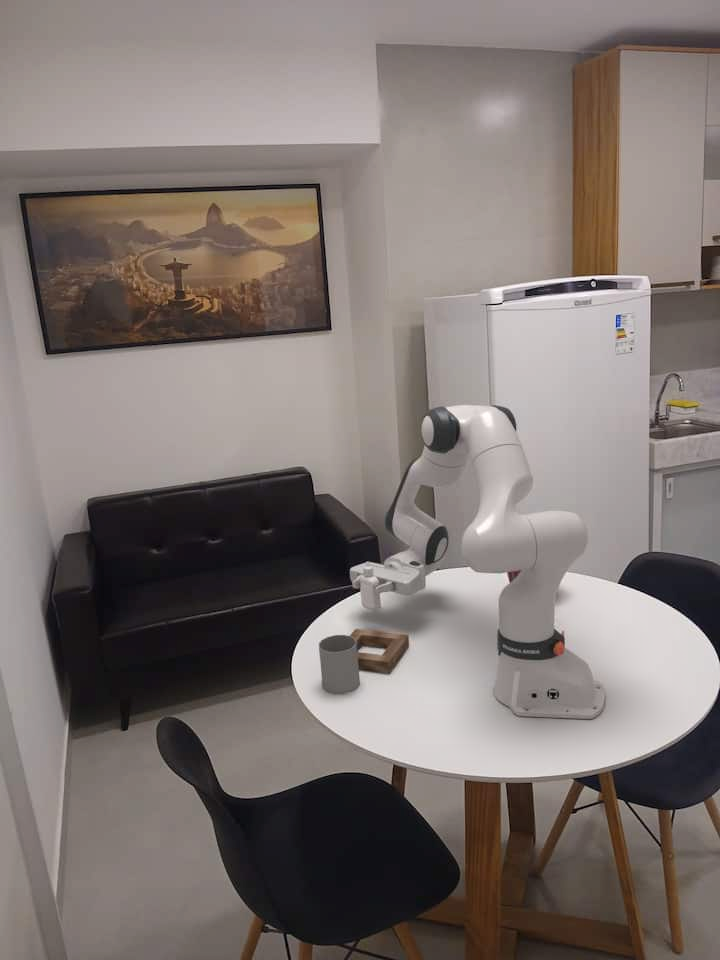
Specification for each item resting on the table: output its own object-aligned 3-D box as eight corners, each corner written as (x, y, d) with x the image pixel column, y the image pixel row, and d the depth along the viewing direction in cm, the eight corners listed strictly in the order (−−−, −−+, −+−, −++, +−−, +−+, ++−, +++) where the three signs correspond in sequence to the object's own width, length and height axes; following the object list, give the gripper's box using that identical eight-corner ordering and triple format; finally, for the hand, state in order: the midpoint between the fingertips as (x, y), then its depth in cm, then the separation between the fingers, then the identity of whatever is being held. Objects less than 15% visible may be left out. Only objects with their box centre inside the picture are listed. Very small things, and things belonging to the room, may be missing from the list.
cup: (361, 674, 166) (358, 634, 163) (358, 693, 158) (354, 651, 155) (325, 675, 167) (321, 635, 164) (319, 694, 159) (315, 652, 156)
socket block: (409, 646, 178) (408, 634, 177) (389, 674, 165) (388, 662, 164) (356, 639, 183) (355, 628, 182) (333, 666, 170) (332, 654, 170)
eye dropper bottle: (364, 612, 182) (361, 566, 180) (361, 603, 188) (357, 559, 185) (381, 609, 183) (378, 564, 180) (377, 601, 188) (373, 557, 186)
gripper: (369, 553, 199) (333, 569, 189) (429, 566, 185) (394, 583, 175) (370, 575, 200) (336, 591, 191) (430, 589, 187) (396, 608, 177)
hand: (364, 588), depth 183 cm, fingers closed on eye dropper bottle, 6 cm apart
